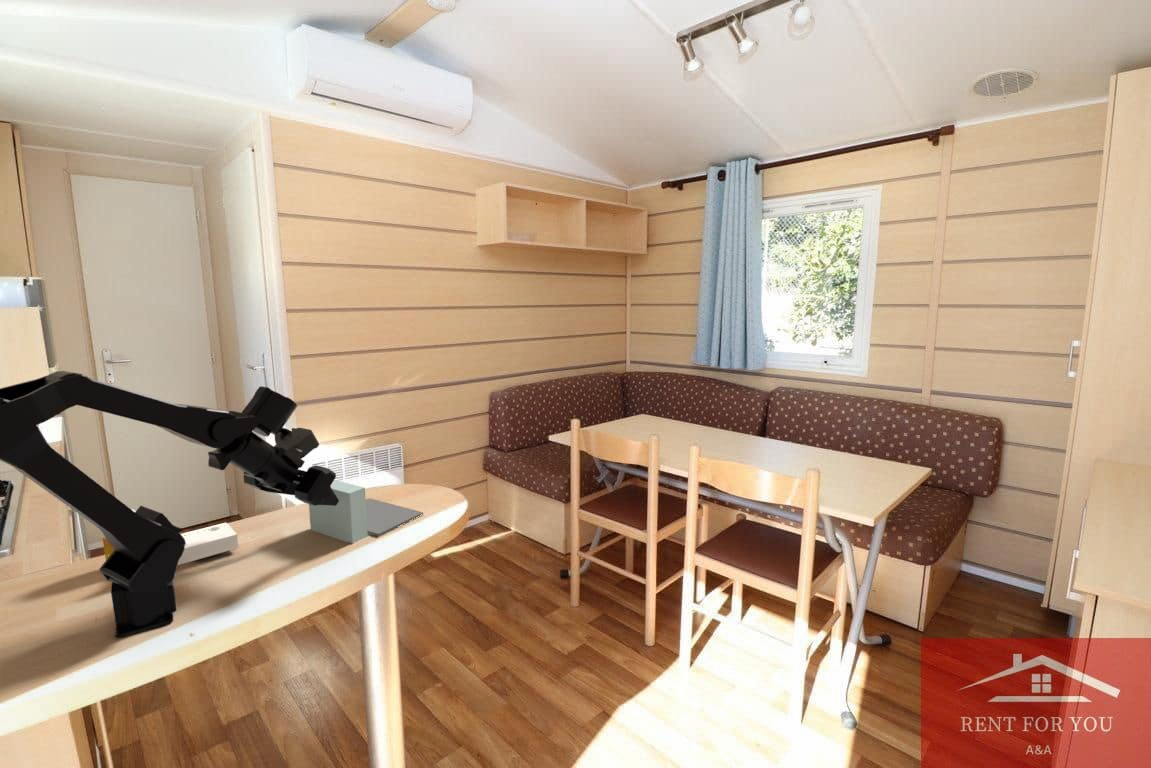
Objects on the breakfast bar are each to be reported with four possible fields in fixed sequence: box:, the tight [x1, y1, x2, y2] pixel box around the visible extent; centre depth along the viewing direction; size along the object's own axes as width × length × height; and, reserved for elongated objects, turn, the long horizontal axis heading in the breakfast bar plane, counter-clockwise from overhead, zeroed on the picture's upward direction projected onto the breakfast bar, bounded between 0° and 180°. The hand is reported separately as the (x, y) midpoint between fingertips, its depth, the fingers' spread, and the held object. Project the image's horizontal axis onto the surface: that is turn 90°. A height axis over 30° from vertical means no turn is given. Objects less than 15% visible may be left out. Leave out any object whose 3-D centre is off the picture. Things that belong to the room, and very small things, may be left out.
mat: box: [366, 497, 424, 538], centre depth 117 cm, size 12×16×1 cm
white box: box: [177, 522, 239, 566], centre depth 98 cm, size 13×7×8 cm, turn 135°
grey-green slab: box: [308, 479, 369, 544], centre depth 108 cm, size 4×12×10 cm, turn 61°
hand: (320, 498), depth 105 cm, fingers open, 9 cm apart
